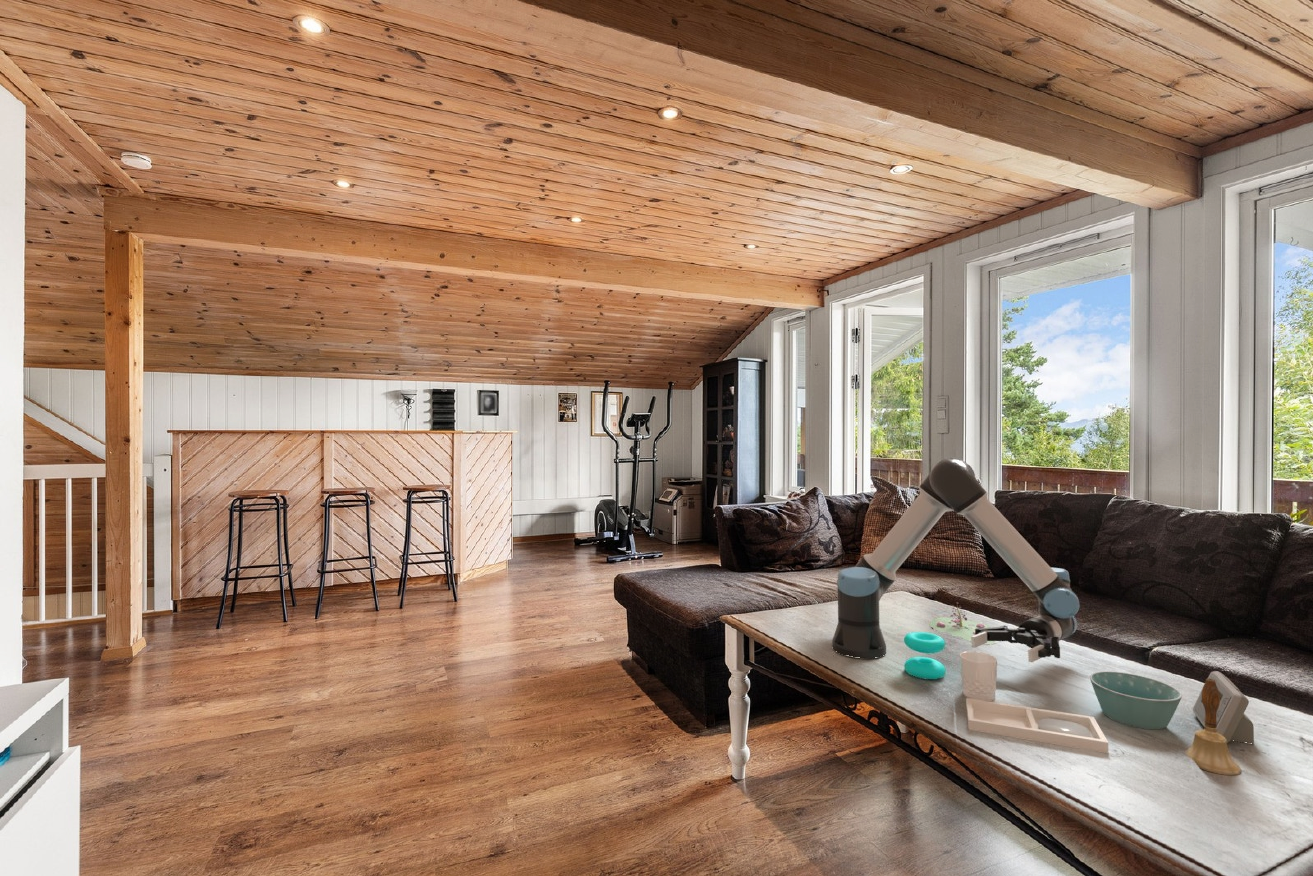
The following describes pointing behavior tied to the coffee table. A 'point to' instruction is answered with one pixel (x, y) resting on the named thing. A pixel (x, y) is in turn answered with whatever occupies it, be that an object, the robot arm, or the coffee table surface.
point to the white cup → (978, 675)
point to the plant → (958, 626)
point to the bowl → (1135, 699)
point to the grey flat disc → (1063, 727)
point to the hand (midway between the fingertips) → (1000, 649)
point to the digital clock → (1228, 711)
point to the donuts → (924, 665)
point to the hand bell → (1212, 738)
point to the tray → (1031, 724)
